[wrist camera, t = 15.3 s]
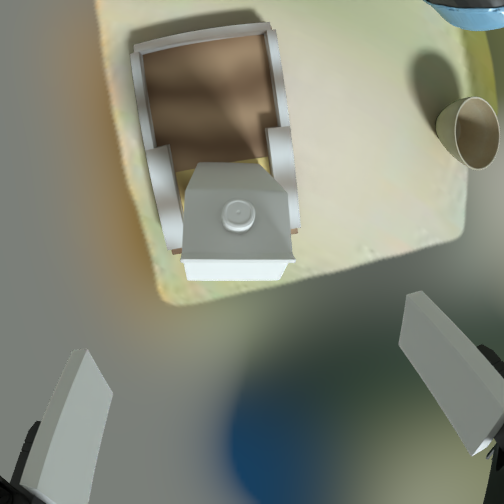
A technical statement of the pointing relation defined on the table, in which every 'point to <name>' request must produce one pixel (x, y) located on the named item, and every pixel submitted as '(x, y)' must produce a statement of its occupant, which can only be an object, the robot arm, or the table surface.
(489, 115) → the flower pot
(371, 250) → the table surface
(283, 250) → the milk carton
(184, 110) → the divided compartment tray
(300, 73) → the table surface
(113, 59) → the table surface
